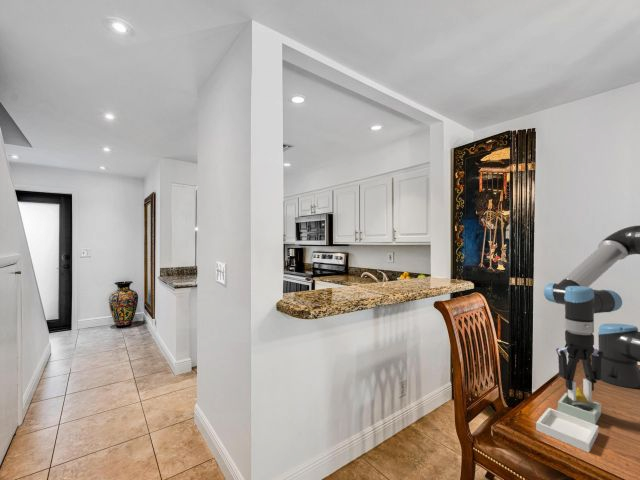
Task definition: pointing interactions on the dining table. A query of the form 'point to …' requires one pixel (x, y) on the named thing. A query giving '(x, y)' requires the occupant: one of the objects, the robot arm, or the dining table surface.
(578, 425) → the tray
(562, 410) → the pale green square frame
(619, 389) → the dining table surface
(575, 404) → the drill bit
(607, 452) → the dining table surface
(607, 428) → the dining table surface
